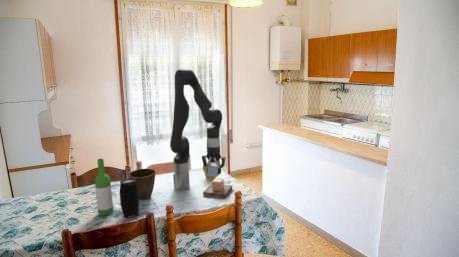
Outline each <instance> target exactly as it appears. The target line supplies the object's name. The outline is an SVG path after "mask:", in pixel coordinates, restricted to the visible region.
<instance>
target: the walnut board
mask: <svg viewBox="0 0 459 257" xmlns="http://www.w3.org/2000/svg"><path fill="white" fill-rule="evenodd" d="M232 190H233V185H229V184H224V188H223V189H222V190H221V191H218V190H212V183H210V185H208V186H207V188H205V190H203V192H202V194H203V195H202V196H203V197H210V198H211V197H212V198H220V199H226V198H227V197H228V196H229V195H230V193H231V192H232Z"/></svg>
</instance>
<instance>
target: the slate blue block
mask: <svg viewBox="0 0 459 257" xmlns="http://www.w3.org/2000/svg"><path fill="white" fill-rule="evenodd" d="M208 176H214V177H216V178H218V177H219V175H218V166H217V165H216V164H210V165H209V166H208Z"/></svg>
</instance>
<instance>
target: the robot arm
mask: <svg viewBox="0 0 459 257" xmlns="http://www.w3.org/2000/svg"><path fill="white" fill-rule="evenodd" d="M185 86H190V87H191V88H192V91H193V99H194V102H195V103H196V105H197V106H198V108H199V110H200V112H201V116H202V118H203V120H204V122H205V123H207V124H211V125H210V126H208V127H207V129H206V155H205V154H203V155H202V156H201V160H202V166H203V165H204V166H206V167H207V173H208V166H209V165H210V164H211V163H216V165H217V166H218V176H220V175H221V173H222V169H223V168H224V167H225V165H226V158H227V157H226V156H222V155H221V139H220V138H221V137H220V136H221V135H220V128H221V125H222V122H223V114H222V111H221V110H220V109H219V108H214V109H211V108H212V102H211V100H210V99H209V97H207V94H206V93H205V92H204V90H203V88H202V86H201V84H200V82H199V80H198V77H197V75H196V73H195V72H194V71H193V70H191V69H188V68H187V69H186V68H185V69H184V68H183V69H182V68H181V69H179V68H178V69H177V70H176V71H175V73H174V104H173V120H172V130H171V137H170V141H169V142H170V143H169V144H170V146H169V147H170V150H171V151H172V153H174V154H176V155H175V156H174V157H173V169H174V170H173V172H174V173H173V175H172V177H173V178H172V179H173V189H175V190H177V191H185V190H188V189H190V171H189V170H190V166H189V160H190V142H189V139H188V138H187V136H184V135H183V132H184V129H185V128H186V125H187V123H188V120H189V117H190V105H189V102H188V100H187V98H186V95H185V91H184V90H185ZM207 160H208V161H207ZM220 160H221V161H220Z"/></svg>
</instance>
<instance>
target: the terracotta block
mask: <svg viewBox="0 0 459 257" xmlns="http://www.w3.org/2000/svg"><path fill="white" fill-rule="evenodd" d="M224 183H225V182H224V178H218V177H216V178H215V179H214V180H211V184H212V190H218V191H221V190H222V189H223V188H224V185H225V184H224Z"/></svg>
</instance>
